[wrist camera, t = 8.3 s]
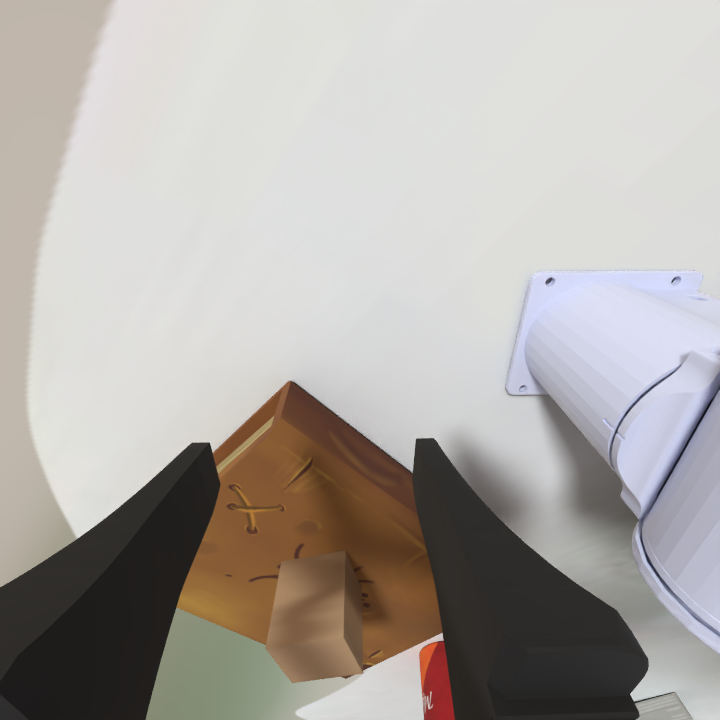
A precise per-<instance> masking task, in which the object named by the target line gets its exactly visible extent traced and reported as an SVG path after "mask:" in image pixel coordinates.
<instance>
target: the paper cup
mask: <svg viewBox="0 0 720 720" xmlns="http://www.w3.org/2000/svg"><path fill="white" fill-rule="evenodd" d="M420 672H421V685H422V698H423V710H424V720H455V717H454V710H453V702H452V694H451V687H450V680H449V673H448V666H447V658H446V652H445V645H444V641H439V642H434V643H431V644H429V645H427V646H425V647H424V648H422V650H421V651H420Z"/></svg>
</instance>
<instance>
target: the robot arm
mask: <svg viewBox="0 0 720 720" xmlns="http://www.w3.org/2000/svg"><path fill="white" fill-rule="evenodd" d="M550 277H552V280H551V282H550V283H549V284H545V282H546V280H547V279H548V278H550ZM675 277H676V278H675ZM673 278H675V280H674V282H672V283H671V281H672V279H673ZM702 280H703V274H702V273H701V272H698V271H694V270H665V271H540V272H536V273H535V274H533V275H532V276H531V278H530V280H529V285H528V289H527V294H526V298H525V302H524V307H523V311H522V316H521V320H520V324H519V329H518V333H517V338H516V342H515V347H514V351H513V355H512V360H511V364H510V369H509V373H508V377H507V382H506V390H507V392H508V393H509V394H511V395H545V394H549V395H550V396H551V397H552V399H553V400H554V401H555V402H556V403H557V404H558V406H559V407H560V408H561V409H562V410H563V412H564V413H565V414H566V415H567V416H568V417H569V419H570V420H571V421H572V422H573V423H574V425H575V426H576V427H577V428H578V429H579V430H580V432H581V433H582V434H583V435H584V436H585V438H586V439H587V440H588V441H589V442H590V443H591V445H592V446H593V447H594V448H595V449H596V450H597V452H598V453H599V454H600V455H601V456H602V458H603V459H604V460H605V461H606V462H607V463H608V465H609V466H610V467H611V468H612V469H613V471H614V472H615V473H616V474H617V475H618V476H619V478H620V479H621V481H622V492H621V495H620V497H621V498H622V499H623V501H624V502H625V503H626V504H627V506H628V507H629V508H630V509H631V511H632V512H633V513H634V514H635V516H636V517H637V518H638V519H639V521H638V523H637V524H636V526H635V529H634V531H633V534H632V550H633V556H634V559H635V561H636V564H637V567H638V569H639V571H640V573H641V575H642V576H643V578H644V580H645V582H646V583H647V585H648V586H649V588H650V589H651V590H652V592H653V593H654V595H655V596H656V597H657V599H658V600H659V601H660V602H661V603H662V604H663V605H664V607H665V608H666V609H667V610H668V611H669V612H670V613H671V614H672V615H673V616H674V617H675V618H676V619H677V620H678V621H679V622H680V623H681V624H682V625H683V626H684V627H685V628H686V629H687V630H689V631H690V632H691V633H692V634H693V635H695V636H696V637H697V638H698V639H700V640H701V641H702V642H703V643H704V644H706V645H707V646H709V647H710V648H711V649H713V650H714V651H716V652H717V653H719V654H720V299H717V298H715V297H712V296H709V295H706V294H704V293H701V292H698V289H699V287H700V284H701V282H702ZM523 385H525V386H524V387H523V388H521V389H519V388H520V387H521V386H523ZM412 483H413V490H414V498H415V504H416V510H417V514H418V518H419V522H420V526H421V530H422V534H423V538H424V542H425V546H426V550H427V554H428V558H429V562H430V565H431V569H432V574H433V578H434V583H435V588H436V594H437V600H438V606H439V612H440V619H441V625H442V632H443V638H444V645H445V652H446V658H447V666H448V673H449V680H450V687H451V694H452V702H453V710H454V717H455V720H636V719H638V718H639V717H640V715H639V711H638V709H637V707H636V705H635V703H634V701H633V699H632V697H631V696H630V693H631V692H632V691H633V690H634V688H635V687H636V686H637V685H638V684H639V682H640V681H641V680H642V679H643V678H644V676H645V674H646V672H647V670H648V666H649V665H648V658H647V656H646V655H645V653H644V651H643V650H642V648H641V646H640V645H639V643H638V641H637V640H636V638H635V636H634V635H633V633H632V632H631V630H630V628H629V627H628V626H627V624H626V623H625V622H624V620H623V619H622V617H621V616H620V614H619V613H618V611H617V610H615V609H614V608H612V607H611V606H609V605H608V604H606V603H605V602H603V601H602V600H600V599H599V598H597V597H596V596H594V595H593V594H591V593H590V592H588V591H587V590H585V589H584V588H582V587H581V586H579V585H578V584H576V583H575V582H574V581H572V580H571V579H570V578H568V577H567V576H566V575H564V574H563V573H561V572H560V571H559V570H557V569H556V568H555V567H553V566H552V565H551V564H550V563H548V562H547V561H546V560H545V559H544V558H542V557H541V556H540V555H539V554H538V553H536V552H535V551H534V550H533V549H532V548H530V547H529V546H528V545H527V544H525V543H524V542H523V541H522V540H521V539H520V538H519V537H518V536H517V535H516V534H514V533H513V532H512V531H511V530H510V529H509V528H508V527H507V526H506V525H505V524H504V523H503V522H502V521H501V520H500V519H499V518H498V517H497V516H496V515H495V514H494V513H493V512H492V511H491V510H490V509H489V508H488V507H487V506H486V505H485V503H484V502H483V501H482V500H481V499H480V498H479V497H478V496H477V494H476V493H475V492H474V491H473V490H472V489H471V487H470V486H469V485H468V484H467V482H466V481H465V480H464V479H463V477H462V476H461V475H460V474H459V472H458V471H457V470H456V468H455V467H454V466H453V464H452V463H451V462H450V460H449V459H448V458H447V456H446V455H445V453H444V452H443V450H442V449H441V447H440V446H439V444H438V443H437V441H436V440H435V439H434V438H422V439H416V445H415V456H414V467H413V478H412ZM220 486H221V483H220V480H219V476H218V472H217V468H216V465H215V461H214V457H213V453H212V449H211V446H210V443H191V444H190V445H189V446H188V447H187V448H186V449H185V450H183V451H182V452H181V453H180V454H179V455H178V456H177V457H176V458H175V459H174V460H173V461H172V462H171V463H169V464H168V465H167V466H166V467H165V468H164V469H163V470H162V471H161V472H160V473H159V474H157V475H156V476H155V477H154V478H153V479H152V480H151V481H150V482H149V483H147V484H146V485H145V486H144V487H143V488H142V489H141V490H139V491H138V492H137V493H136V494H135V495H133V496H132V497H131V498H130V499H129V500H127V501H126V502H125V503H124V504H123V505H121V506H120V507H119V508H118V509H117V510H115V511H114V512H113V513H112V514H110V515H109V516H108V517H107V518H105V519H104V520H103V521H101V522H100V523H99V524H97V525H96V526H95V527H93V528H92V529H91V530H89V531H88V532H86V533H85V534H84V535H82V536H81V537H80V538H78V539H77V540H75V541H74V542H72V543H71V544H69V545H68V546H66V547H65V548H63V549H62V550H60V551H59V552H57V553H56V554H54V555H52V556H51V557H49V558H48V559H46V560H45V561H43V562H42V563H40V564H39V565H37V566H36V567H34V568H32V569H31V570H29V571H27V572H26V573H24V574H23V575H21V576H19V577H18V578H16V579H14V580H13V581H11V582H9V583H7V584H6V585H4V586H2V587H0V720H145V719H146V715H147V711H148V707H149V703H150V699H151V695H152V691H153V688H154V684H155V680H156V676H157V672H158V668H159V665H160V661H161V657H162V654H163V651H164V647H165V643H166V640H167V636H168V633H169V629H170V626H171V623H172V619H173V617H174V613H175V610H176V607H177V604H178V600H179V597H180V594H181V591H182V589H183V586H184V583H185V580H186V578H187V575H188V573H189V571H190V568H191V566H192V563H193V561H194V559H195V556H196V554H197V551H198V549H199V547H200V544H201V542H202V539H203V537H204V534H205V532H206V530H207V527H208V525H209V522H210V520H211V517H212V515H213V512H214V508H215V505H216V501H217V498H218V494H219V490H220Z"/></svg>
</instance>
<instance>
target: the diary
mask: <svg viewBox="0 0 720 720" xmlns="http://www.w3.org/2000/svg"><path fill="white" fill-rule="evenodd" d="M213 457H214V461H215V465H216V468H217V472H218V476H219V480H220V483H221V486H220V490H219V494H218V498H217V501H216V505H215V508H214V512H213V515H212V517H211V520H210V522H209V525H208V527H207V530H206V532H205V534H204V537H203V539H202V542H201V544H200V547H199V549H198V551H197V554H196V556H195V559H194V561H193V563H192V566H191V568H190V571H189V573H188V575H187V578H186V580H185V583H184V586H183V589H182V591H181V594H180V597H179V600H178V604H177V608H179V609H182V610H184V611H186V612H189V613H191V614H193V615H196V616H198V617H201V618H203V619H206V620H208V621H210V622H212V623H215V624H217V625H220V626H222V627H224V628H227V629H229V630H231V631H234V632H236V633H239V634H241V635H243V636H246V637H248V638H250V639H253V640H255V641H258V642H260V643H263V644H265V645H266V643H267V638H268V632H269V627H270V621H271V616H272V610H273V605H274V599H275V594H276V588H277V582H278V577H279V571H280V566H281V561H286V560H292V559H298V558H304V557H310V556H315V555H321V554H327V553H333V552H339V551H346V553H347V555H348V558H349V560H350V562H351V565H352V567H353V569H354V571H355V574H356V576H357V578H358V581H359V583H360V585H361V588H362V640H363V670H365V669H367V668H369V667H371V666H374V665H376V664H378V663H380V662H382V661H384V660H386V659H388V658H390V657H392V656H394V655H397V654H399V653H401V652H403V651H405V650H407V649H409V648H411V647H413V646H415V645H417V644H420V643H422V642H424V641H426V640H428V639H430V638H432V637H434V636H436V635H438V634H440V633H443V632H442V625H441V619H440V612H439V606H438V600H437V594H436V588H435V583H434V578H433V574H432V569H431V565H430V562H429V558H428V554H427V550H426V546H425V542H424V538H423V534H422V530H421V526H420V522H419V518H418V514H417V510H416V504H415V498H414V490H413V483H412V478H413V474H412V473H410V472H409V471H408V470H406V469H405V468H404V467H403V466H401V465H400V464H399V463H397V462H396V461H395V460H393V459H392V458H391V457H390V456H388V455H387V454H386V453H384V452H383V451H382V450H380V449H379V448H378V447H376V446H375V445H374V444H373V443H371V442H370V441H369V440H367V439H366V438H365V437H363V436H362V435H361V434H360V433H358V432H357V431H356V430H354V429H353V428H352V427H350V426H349V425H348V424H346V423H345V422H344V421H343V420H341V419H340V418H339V417H337V416H336V415H335V414H333V413H332V412H331V411H330V410H328V409H327V408H326V407H324V406H323V405H322V404H320V403H319V402H318V401H316V400H315V399H314V398H313V397H311V396H310V395H309V394H307V393H306V392H305V391H303V390H302V389H301V388H300V387H298V386H297V385H296V384H294V383H293V382H292V381H288V382H287V383H286V384H285V385H284V386H283V387H282V388H281V389H280V390H279V391H278V392H277V393H276V394H275V395H274V396H272V397H271V398H270V399H269V400H268V401H267V402H266V403H265V404H264V405H263V406H262V407H261V408H260V409H259V410H258V411H257V412H256V413H255V414H253V415H252V416H251V417H250V418H249V419H248V420H247V421H246V422H245V423H244V424H243V425H242V426H241V427H240V428H239V429H238V430H237V431H235V432H234V433H233V434H232V435H231V436H230V437H229V438H228V439H227V440H226V441H225V442H224V443H223V444H222V445H221V446H220V447H219V448H218V449H216V450H215V451H214V452H213ZM351 676H353V675H348V676H341V677H343V678H345V679H346V678H348V677H351Z"/></svg>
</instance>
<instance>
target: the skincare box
mask: <svg viewBox="0 0 720 720" xmlns="http://www.w3.org/2000/svg"><path fill="white" fill-rule="evenodd" d="M635 705H636V707H637V709H638V711H639V715H640V717H639V718H638V719H636V720H693V719H692V717H691V716H690V714H689V713H688V711H687V710H686V708H685V706H684V705H683V703H682V702H681V700H680V699H679V697H678V696H677V694H676V693H675V692H674V693H670V694H667V695H663V696H659V697H655V698H652V699H648V700H645V701H641V702H638V703H635Z"/></svg>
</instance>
